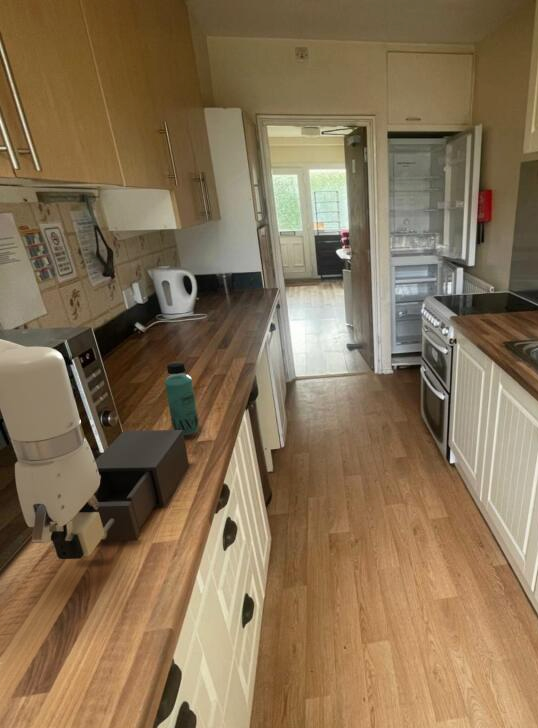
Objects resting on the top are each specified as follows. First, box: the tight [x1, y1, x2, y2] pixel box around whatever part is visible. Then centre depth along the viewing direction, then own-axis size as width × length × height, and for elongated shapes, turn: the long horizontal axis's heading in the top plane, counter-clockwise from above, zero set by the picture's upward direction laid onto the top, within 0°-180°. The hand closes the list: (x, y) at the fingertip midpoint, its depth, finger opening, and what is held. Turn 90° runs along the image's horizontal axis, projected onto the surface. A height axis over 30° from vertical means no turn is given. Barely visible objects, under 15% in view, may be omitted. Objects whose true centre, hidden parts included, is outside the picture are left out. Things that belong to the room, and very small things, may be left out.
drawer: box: [95, 471, 158, 543], centre depth 79 cm, size 18×11×8 cm, turn 4°
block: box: [51, 512, 105, 557], centre depth 63 cm, size 4×4×4 cm
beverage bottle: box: [164, 361, 200, 436], centre depth 108 cm, size 6×7×20 cm
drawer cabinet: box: [95, 429, 190, 508], centre depth 90 cm, size 15×13×10 cm
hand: (81, 543), depth 64 cm, fingers closed on block, 4 cm apart
